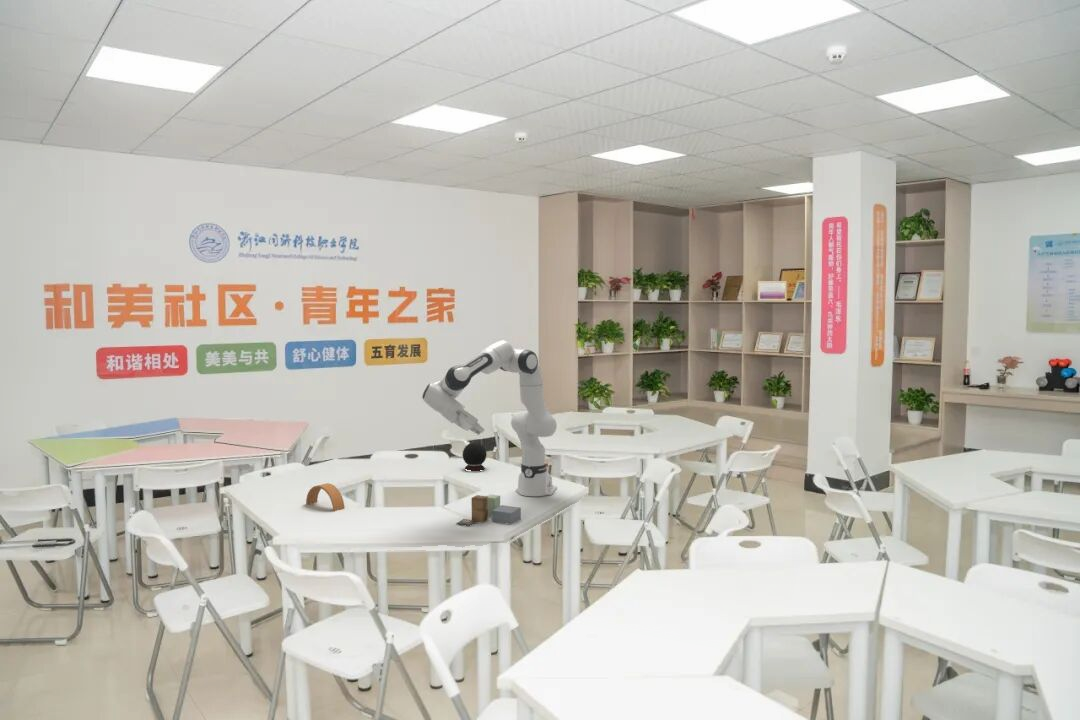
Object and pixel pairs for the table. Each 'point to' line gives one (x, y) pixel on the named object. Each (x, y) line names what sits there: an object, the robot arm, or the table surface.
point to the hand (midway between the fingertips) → (481, 432)
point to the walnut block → (480, 508)
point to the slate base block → (506, 514)
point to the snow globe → (474, 456)
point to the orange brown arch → (331, 491)
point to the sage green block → (493, 503)
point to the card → (466, 522)
